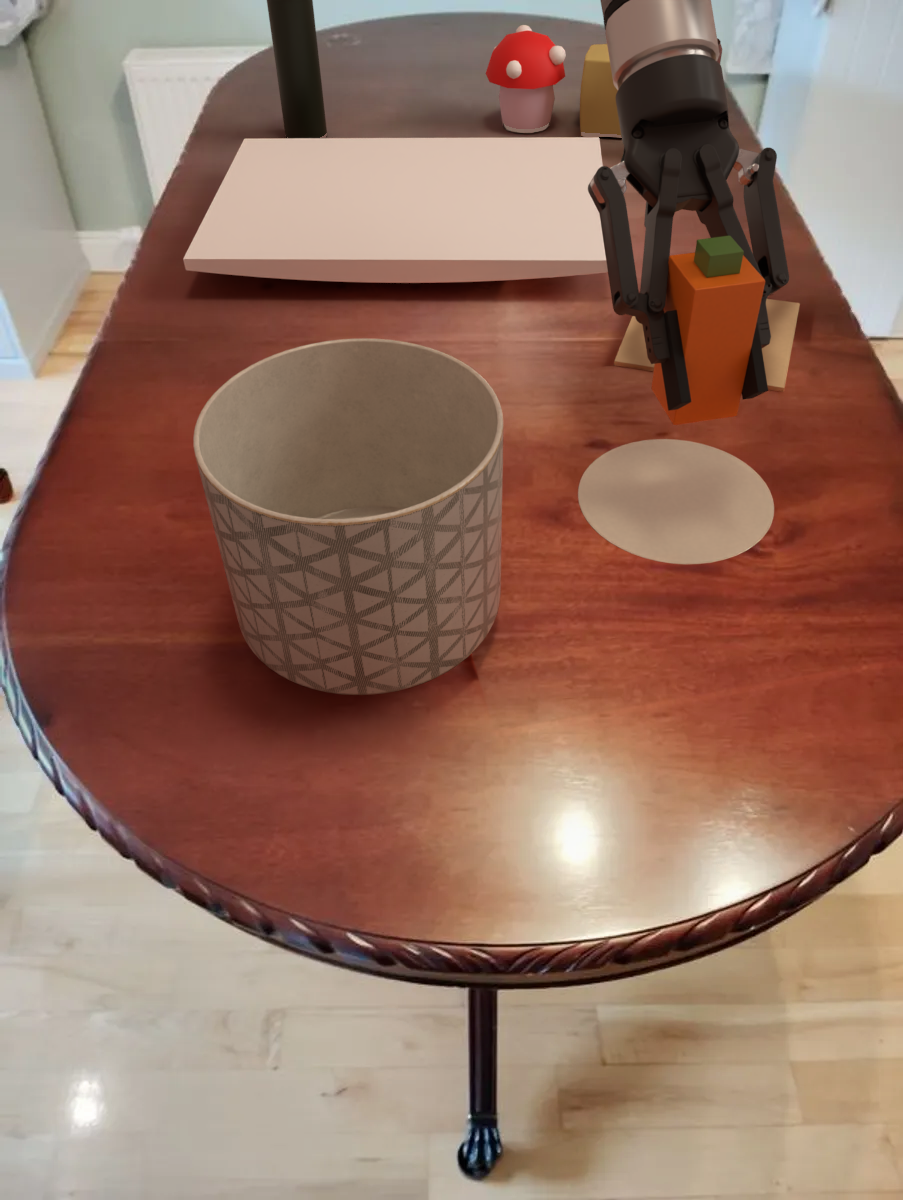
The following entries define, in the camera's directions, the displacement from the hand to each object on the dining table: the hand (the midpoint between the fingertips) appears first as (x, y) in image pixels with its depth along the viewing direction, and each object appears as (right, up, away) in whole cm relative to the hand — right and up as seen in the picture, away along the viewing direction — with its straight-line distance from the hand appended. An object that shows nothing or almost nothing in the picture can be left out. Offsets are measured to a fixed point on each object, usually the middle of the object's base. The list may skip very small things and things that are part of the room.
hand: (717, 400), depth 72 cm
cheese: (+4, +51, +68) cm, 85 cm away
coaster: (+7, +12, +29) cm, 32 cm away
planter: (-25, -16, +3) cm, 30 cm away
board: (-24, +29, +47) cm, 60 cm away
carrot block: (-1, +1, +4) cm, 5 cm away
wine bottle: (-39, +50, +68) cm, 93 cm away
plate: (-1, -6, +11) cm, 13 cm away
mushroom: (-9, +52, +69) cm, 87 cm away
